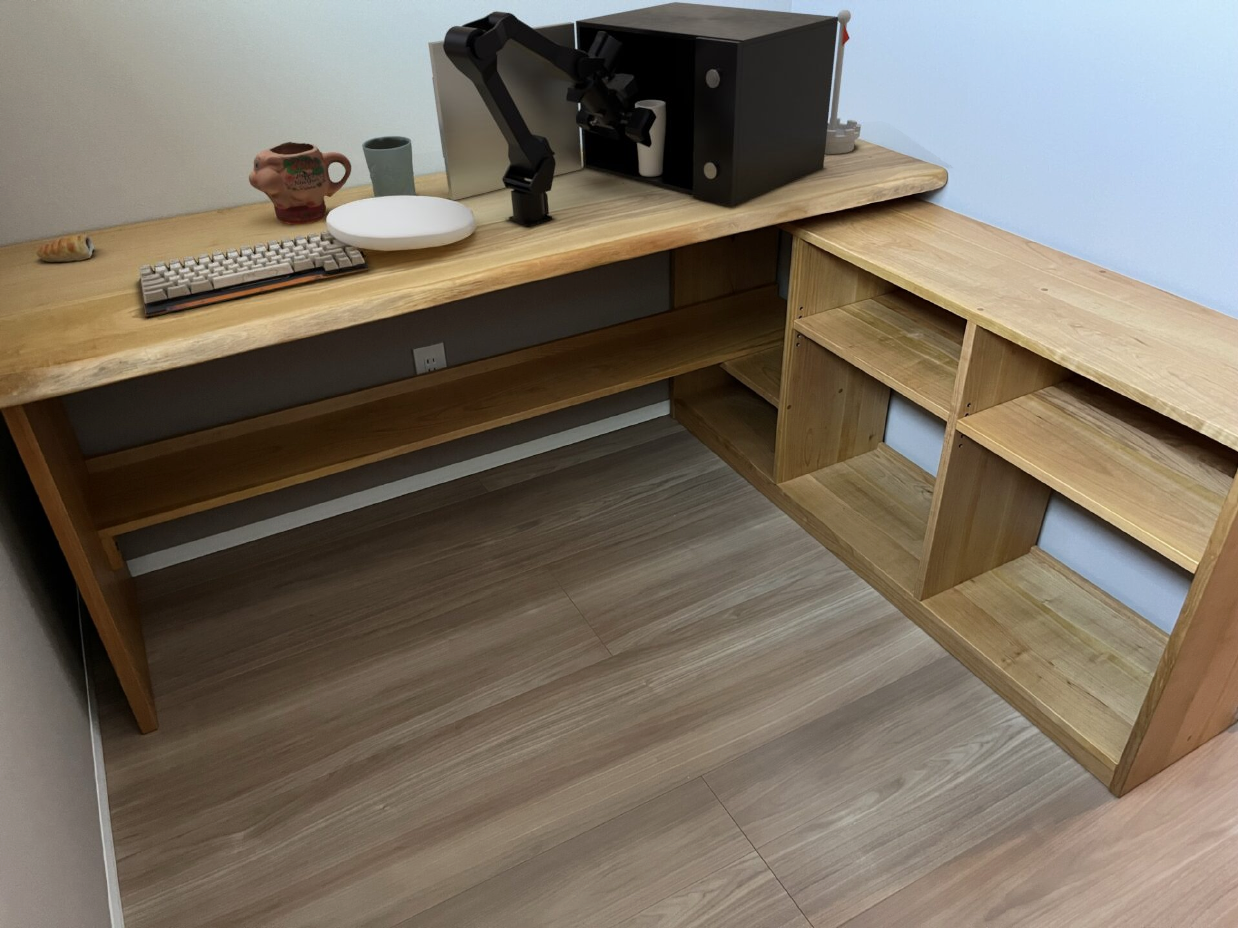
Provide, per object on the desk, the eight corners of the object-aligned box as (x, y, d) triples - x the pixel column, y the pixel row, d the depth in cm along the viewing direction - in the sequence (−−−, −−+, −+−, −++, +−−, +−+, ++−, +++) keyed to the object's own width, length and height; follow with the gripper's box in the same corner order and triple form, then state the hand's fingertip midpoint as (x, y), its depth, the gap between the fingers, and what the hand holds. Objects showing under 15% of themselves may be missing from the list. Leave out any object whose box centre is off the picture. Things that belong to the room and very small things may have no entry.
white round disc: (419, 183, 184) (505, 212, 170) (419, 215, 188) (504, 246, 173) (296, 196, 165) (381, 230, 151) (298, 231, 168) (382, 267, 154)
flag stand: (796, 142, 220) (807, 7, 204) (848, 139, 221) (863, 4, 205) (811, 156, 210) (824, 15, 193) (865, 153, 211) (883, 12, 194)
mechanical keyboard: (146, 318, 145) (139, 299, 143) (138, 280, 159) (132, 261, 157) (375, 271, 159) (371, 253, 157) (349, 240, 173) (345, 223, 171)
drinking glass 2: (638, 169, 202) (637, 99, 193) (668, 170, 201) (668, 100, 192) (633, 178, 196) (631, 106, 188) (663, 179, 195) (663, 107, 187)
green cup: (404, 189, 198) (395, 133, 191) (429, 199, 192) (420, 141, 185) (363, 200, 193) (352, 143, 186) (387, 210, 186) (377, 151, 180)
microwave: (728, 209, 181) (735, 42, 163) (575, 170, 206) (567, 22, 189) (823, 168, 202) (838, 17, 184) (674, 138, 227) (675, 2, 210)
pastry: (36, 266, 165) (28, 246, 163) (44, 254, 171) (36, 235, 169) (92, 259, 168) (84, 239, 166) (97, 247, 173) (90, 228, 171)
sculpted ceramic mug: (351, 199, 193) (338, 133, 185) (365, 215, 184) (352, 146, 176) (256, 216, 186) (238, 147, 178) (265, 233, 177) (247, 162, 169)
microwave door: (437, 193, 195) (415, 39, 177) (564, 163, 211) (556, 19, 194) (453, 200, 190) (431, 43, 173) (581, 169, 206) (574, 23, 189)
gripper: (650, 67, 174) (685, 115, 187) (582, 57, 185) (620, 103, 198) (623, 117, 174) (660, 162, 187) (557, 104, 185) (596, 147, 198)
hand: (634, 142), depth 192 cm, fingers open, 9 cm apart
